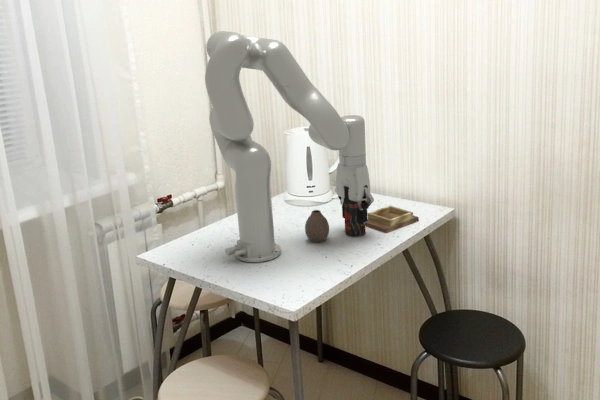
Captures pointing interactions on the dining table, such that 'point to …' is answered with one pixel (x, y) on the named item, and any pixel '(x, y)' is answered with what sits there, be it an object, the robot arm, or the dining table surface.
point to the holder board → (390, 219)
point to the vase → (317, 227)
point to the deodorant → (352, 217)
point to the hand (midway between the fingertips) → (354, 219)
